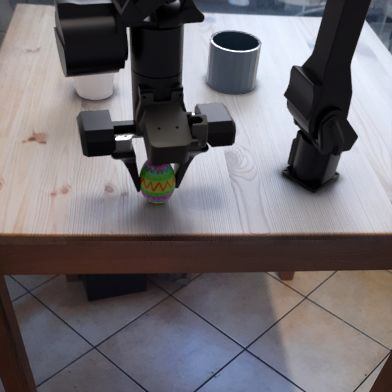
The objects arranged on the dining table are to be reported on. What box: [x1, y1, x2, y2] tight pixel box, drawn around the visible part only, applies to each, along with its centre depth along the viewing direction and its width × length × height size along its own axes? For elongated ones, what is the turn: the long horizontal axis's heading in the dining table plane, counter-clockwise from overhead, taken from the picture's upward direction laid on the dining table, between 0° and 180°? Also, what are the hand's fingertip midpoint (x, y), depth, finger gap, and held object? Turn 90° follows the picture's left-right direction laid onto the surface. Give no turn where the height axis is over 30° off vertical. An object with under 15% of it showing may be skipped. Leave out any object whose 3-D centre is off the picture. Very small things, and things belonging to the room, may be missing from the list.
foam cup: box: [72, 73, 115, 101], centre depth 80 cm, size 10×9×13 cm
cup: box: [206, 29, 263, 95], centre depth 87 cm, size 9×9×7 cm
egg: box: [139, 159, 176, 204], centre depth 65 cm, size 5×5×6 cm
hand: (157, 188), depth 66 cm, fingers closed on egg, 5 cm apart
